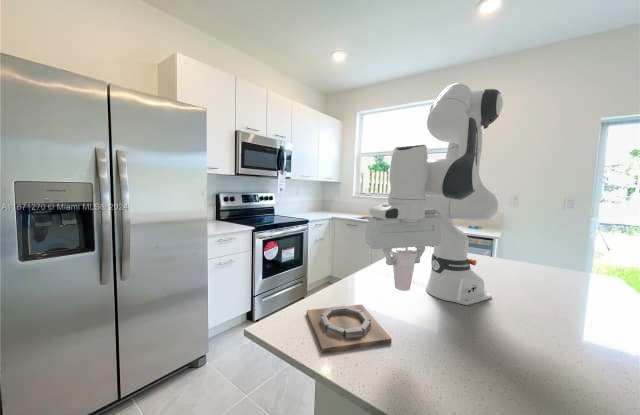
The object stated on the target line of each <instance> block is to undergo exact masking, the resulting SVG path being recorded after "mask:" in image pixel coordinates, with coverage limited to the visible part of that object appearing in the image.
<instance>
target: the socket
mask: <svg viewBox="0 0 640 415" xmlns="http://www.w3.org/2000/svg"><path fill="white" fill-rule="evenodd" d="M371 314H372V313H370V312H369V311H368V310H367V309H366V308H365V306H364V305H363V304H355V305H354V304H352V305H339V306H330V307H326V308H325V307H324V308H316V309H315V308H313V309H307V310H306V316H307V318H308V321H309V323H310V325H311V329H312V331H313V334H314V336H315V338H316V340H317V343H318V345H319V348H320V350H321V353H322V354H327V353H333V352H334V353H335V352H340V351H347V350H353V349H361V348H368V347H374V346H380V345H381V346H382V345H388V344H392V339H393V338H392V337H391V336H390V335H389V334H388V333H387V331H386V330H385V329H384V328H383V327H382V326H381V325H380V323H379V322H378V321H377V320H376V319H375V317H373V315H371Z"/></svg>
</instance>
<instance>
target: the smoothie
mask: <svg viewBox="0 0 640 415" xmlns="http://www.w3.org/2000/svg"><path fill="white" fill-rule="evenodd" d="M390 255H391V257H393V258H395V262H394V263H395V264H394V265H392V269H393V280H394V288H395V289H396V290H399V291H403V292H407V291H410V290H411V286H412V285H411V284H412V279H413V275H414V269H415V264H416V263H415V259H416V257H417V252H416V249H415V250H414V249H410V248H409V247H404V248H392V252H390Z"/></svg>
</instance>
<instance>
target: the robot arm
mask: <svg viewBox="0 0 640 415" xmlns="http://www.w3.org/2000/svg"><path fill="white" fill-rule="evenodd" d="M501 94H502V93H501V92H500V91H499V90H498V89H497V88H495V89H494V88H485V89H484V90H473V91H472V90H471V88H470V87H469V86H468V85H466V84H464V83H458V82H457V83H453V84H450V85H448V86H446V88H444V90H442V91H441V93H440V94H439V95H438V97H437V98H436V100H435V101H434V102H433V103H432V105H431V106H430V110H429V114H428V116H427V120H426V127H427V130H428V132H429V133H430V134H431V136H432V137H434V138H435V139H436V140H438V141H441V142H444V143H448V145H447V149H446V156H445V158H443V159H442V158H440V159H428V146H427V145H426V144H423V143H409V144H402V145H398V146H396V147H395V148H394V149H393V151H392V155H391V159H390V160H391V161H390V166H389V180H388V181H389V184H390V185H389V186H390V190H389V194H388V199H387V200H388V201H385V202H383V203H380V204H377V205H375V206H372V207H370V208H369V211H368V212H369V213H368V214H369V216H371V217H370V218H369V219H368V220H367V222H366V226H365V233H364V236H365V237H364V242H365V244H366V245H367V247H368V248H370V249H372V250H381V251H382V253H383V254H384V256H385V264H386V265H387V266H393V265H394V264H395V263H394V262H395V258H393V257H392V255H391V252H392V249H394V248H405V247H408V248H414V249H415V251H416V252H417V257H416V259H415V264H419V263H421V257H422V256H423V254H424V252H425V250H426V247H433V253H432V254H431V270H430V274H429V278H428V281H427V284H426V287H425V292H426V293H427V294H429V295H431V296H433V297H434V298H437V299H440V300H442V301H443V300H444V301H447V302H452V303H457V304H461V305H465V306H469V305H472V304H476V303H479V302H484V301H486V300H490V299H492V294H491V293H490V292H488V291H487V290H485V281H484V279H483V278H482V277H481V276H480V275H479V274H478V273H476V272H475V271H474V270H473V269H472V268H471V266H476V265H477V264H478V260H476V259H473V258H468V252H469V245H470V244H469V243H470V240H469V237H468V235H467V234H466V233H465V232H464V231H463V230H461V229H460V228H458V227H456V225H455V224H454V222H453V220H459V221H460V220H462V221H468V222H469V221H470V222H482V221H483V222H484V221H489V220H491V219H492V218H494V217H495V215H496V214H497V213H498V210H499V201H498V198H497V196H496V195H495V194H494V192H492V191H491V190H489V189H488V188H487V187H486V186H485V185H484V183H483V181H482V180H481V177H480V164H481V163H480V161H481V157H482V151H483V150H482V149H483V131H482V127H483V129H488V128H489V126H490V125H491V124H492V123H494V122H495V121H496V120H497V119H498V118H499V116H500V114H501V111H502V109H503V106H504V101H503V97H502V95H501Z"/></svg>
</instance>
